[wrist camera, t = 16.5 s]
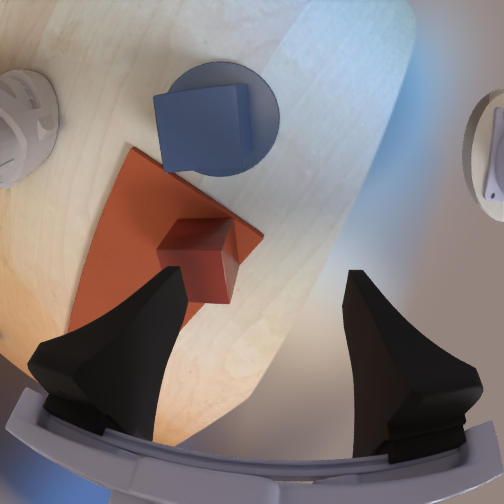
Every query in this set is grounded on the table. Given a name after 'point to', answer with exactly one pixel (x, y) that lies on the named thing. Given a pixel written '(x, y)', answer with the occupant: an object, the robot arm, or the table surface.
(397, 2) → the table surface
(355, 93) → the table surface
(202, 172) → the blue coaster
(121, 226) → the terracotta mat
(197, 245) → the red block
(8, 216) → the table surface
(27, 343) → the table surface
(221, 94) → the blue block
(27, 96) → the grey mechanical part
